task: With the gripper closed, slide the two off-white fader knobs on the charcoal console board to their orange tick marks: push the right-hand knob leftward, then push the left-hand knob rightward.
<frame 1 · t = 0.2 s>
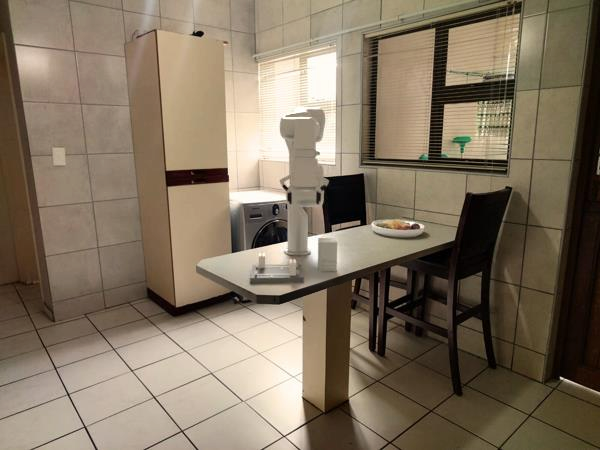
hand: (303, 203, 142), 31 cm above the table, fingers open, 9 cm apart
bowl: (397, 233, 236), on the table
fader b: (292, 267, 154), point 5 cm above the table, slide at 12.0 cm
fader a: (262, 260, 162), point 5 cm above the table, slide at 0.0 cm
supplement box: (326, 269, 168), on the table
console: (276, 275, 159), on the table
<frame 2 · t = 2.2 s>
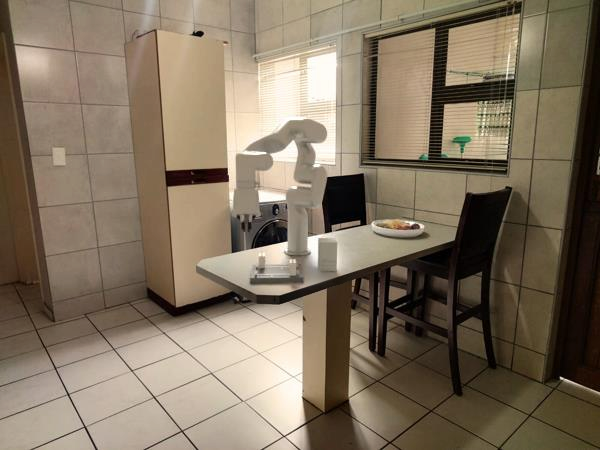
hand: (246, 231, 159), 17 cm above the table, fingers closed
nothing on the table moved.
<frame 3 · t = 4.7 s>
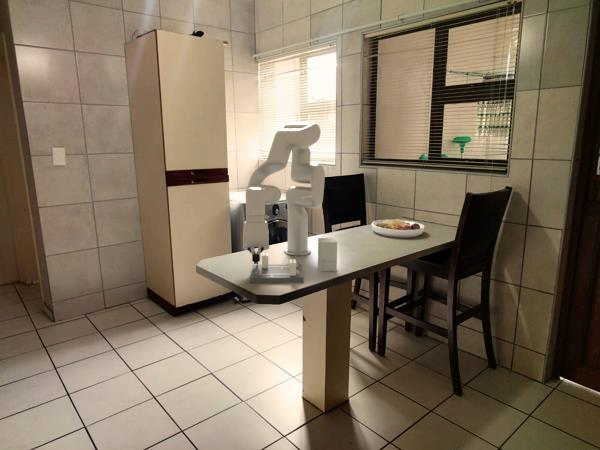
hand: (256, 263, 162), 4 cm above the table, fingers closed
fader a: (265, 260, 162), point 5 cm above the table, slide at 1.3 cm, touching gripper
everything else where it was.
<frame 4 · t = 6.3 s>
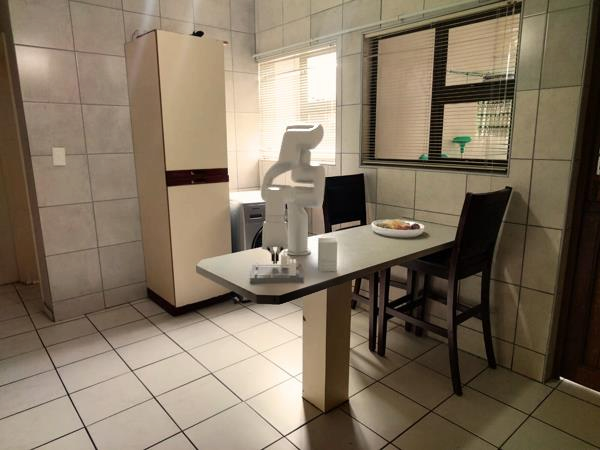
hand: (275, 262, 163), 4 cm above the table, fingers closed
fader a: (284, 260, 163), point 5 cm above the table, slide at 8.9 cm, touching gripper
everything else where it was.
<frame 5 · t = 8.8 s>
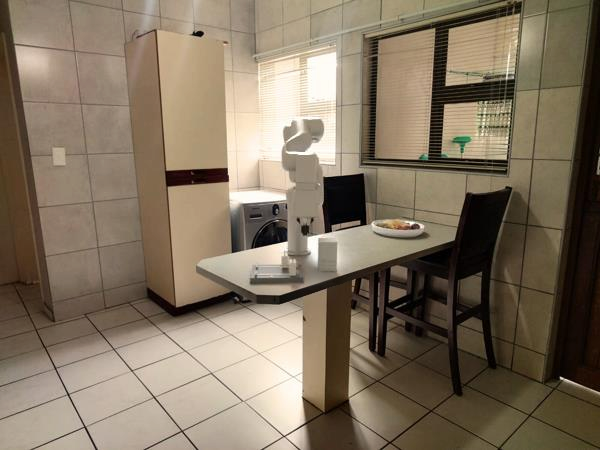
hand: (304, 235, 152), 17 cm above the table, fingers closed
fader a: (284, 260, 163), point 5 cm above the table, slide at 9.1 cm
everything else where it was.
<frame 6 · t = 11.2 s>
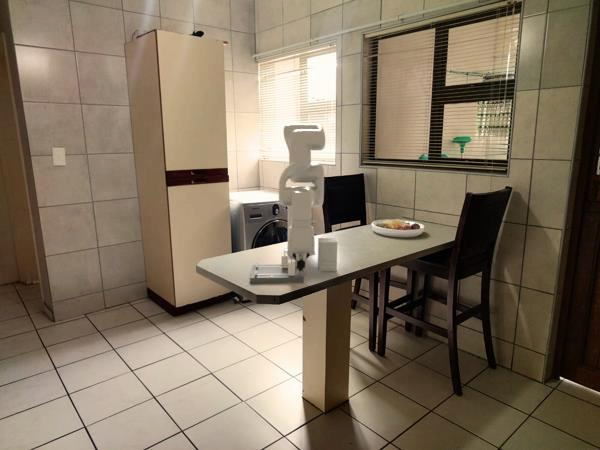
hand: (300, 269, 154), 4 cm above the table, fingers closed
fader b: (291, 267, 154), point 5 cm above the table, slide at 11.5 cm, touching gripper
everything else where it was.
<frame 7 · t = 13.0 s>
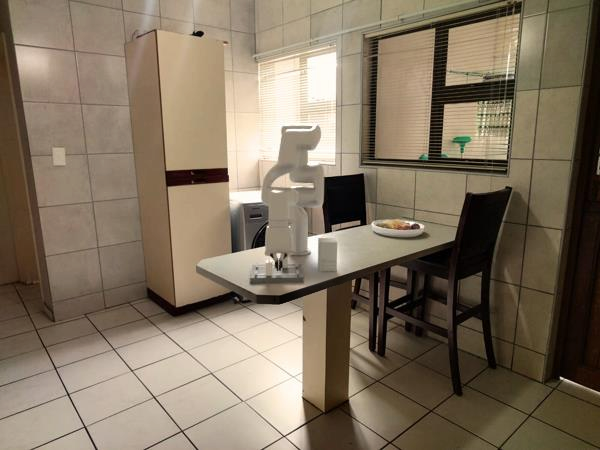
hand: (278, 269, 154), 4 cm above the table, fingers closed
fader b: (269, 267, 153), point 5 cm above the table, slide at 3.0 cm, touching gripper
everything else where it was.
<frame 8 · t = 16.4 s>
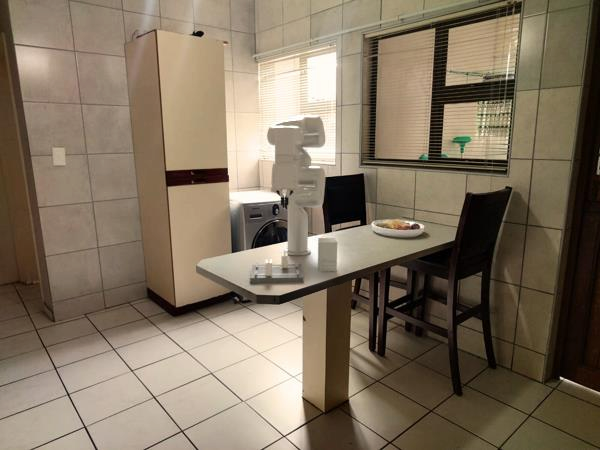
hand: (284, 207, 156), 27 cm above the table, fingers closed
fader b: (268, 267, 153), point 5 cm above the table, slide at 2.9 cm
everything else where it was.
at the end: fader a slide at 9.1 cm; fader b slide at 2.9 cm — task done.
